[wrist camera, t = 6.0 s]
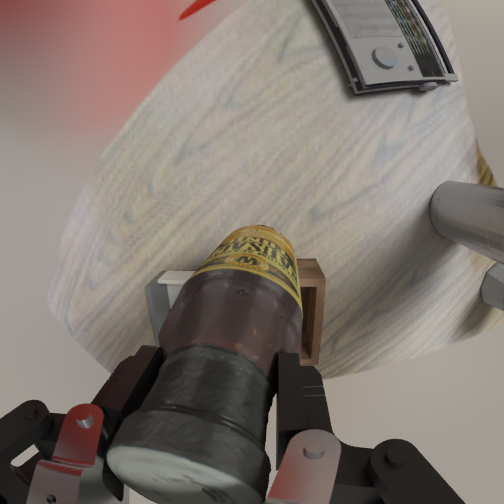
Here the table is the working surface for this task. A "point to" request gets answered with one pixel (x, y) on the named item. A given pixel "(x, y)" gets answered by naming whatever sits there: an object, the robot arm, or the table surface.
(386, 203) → the table surface
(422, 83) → the radio
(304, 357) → the caddy
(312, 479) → the robot arm
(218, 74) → the table surface
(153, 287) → the tray
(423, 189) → the table surface
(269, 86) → the table surface
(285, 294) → the sauce bottle
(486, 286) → the coffee maker
